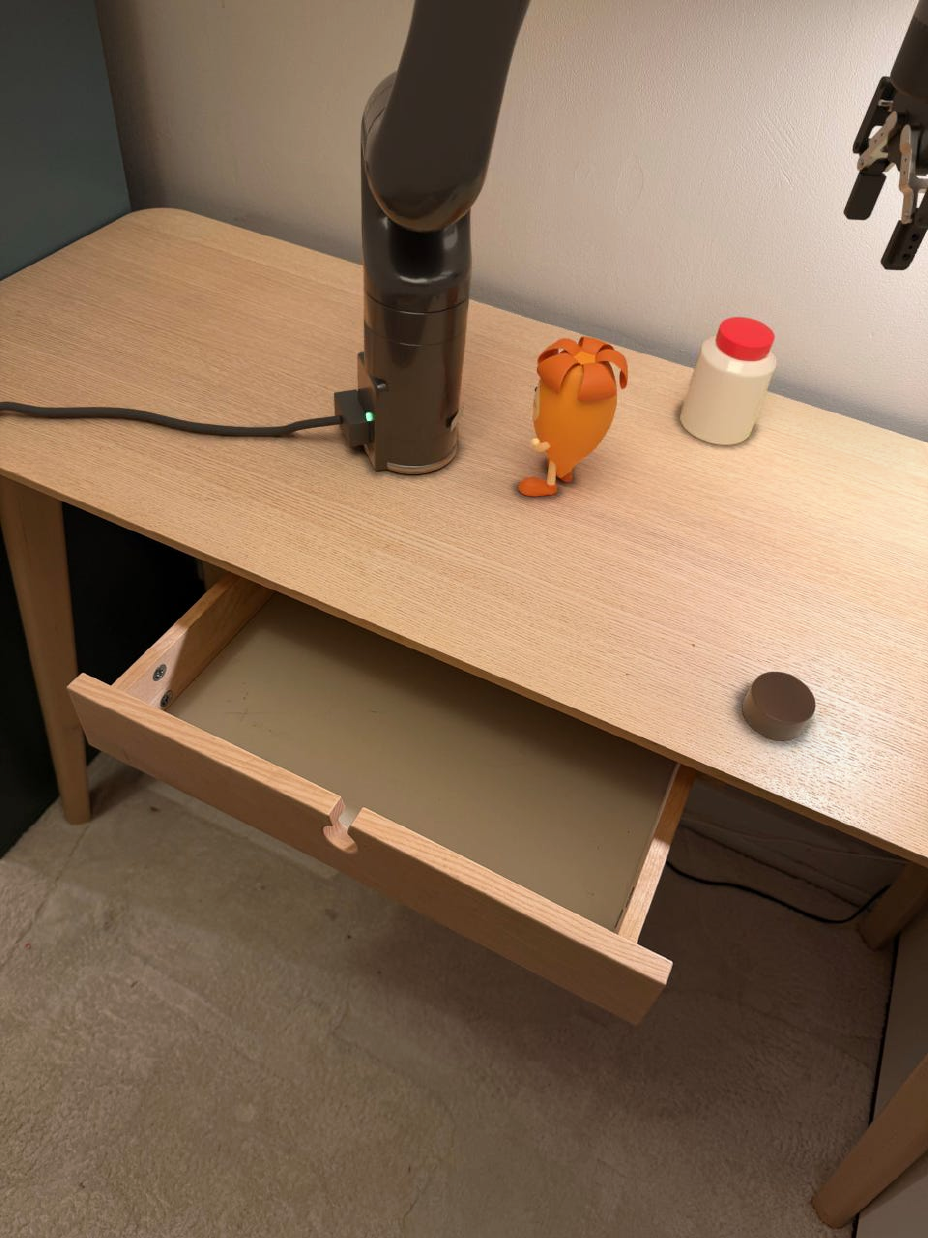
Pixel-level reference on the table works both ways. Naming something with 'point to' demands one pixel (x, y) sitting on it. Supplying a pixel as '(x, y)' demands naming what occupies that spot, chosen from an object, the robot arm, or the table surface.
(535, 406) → the toy figure
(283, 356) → the table surface
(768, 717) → the brown hockey puck
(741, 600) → the table surface
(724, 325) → the pill bottle
